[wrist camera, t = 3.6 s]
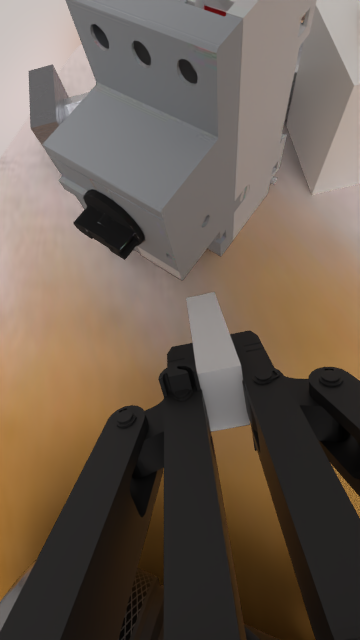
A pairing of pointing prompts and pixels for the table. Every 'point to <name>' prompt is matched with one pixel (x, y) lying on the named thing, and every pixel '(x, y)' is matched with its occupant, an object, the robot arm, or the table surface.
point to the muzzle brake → (130, 609)
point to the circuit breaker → (178, 121)
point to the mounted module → (329, 98)
